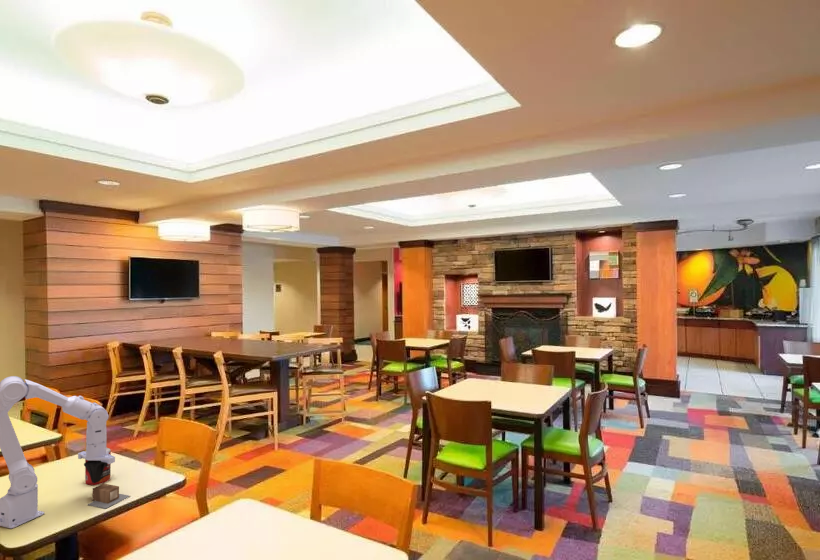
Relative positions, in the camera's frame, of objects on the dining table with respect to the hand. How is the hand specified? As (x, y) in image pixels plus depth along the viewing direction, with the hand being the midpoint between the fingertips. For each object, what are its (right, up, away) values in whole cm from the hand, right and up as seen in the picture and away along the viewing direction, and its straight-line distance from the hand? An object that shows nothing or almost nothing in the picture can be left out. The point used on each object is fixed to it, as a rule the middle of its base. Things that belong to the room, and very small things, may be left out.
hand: (96, 481), depth 157 cm
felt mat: (+6, -6, -2) cm, 8 cm away
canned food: (-8, -6, +13) cm, 17 cm away
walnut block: (+1, -3, 0) cm, 3 cm away
